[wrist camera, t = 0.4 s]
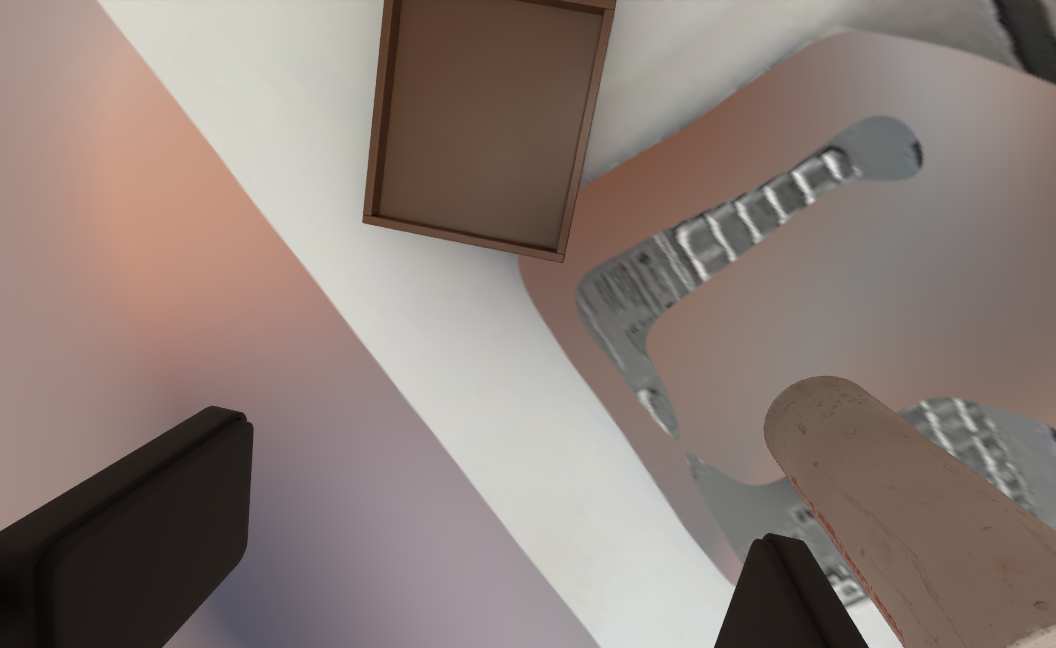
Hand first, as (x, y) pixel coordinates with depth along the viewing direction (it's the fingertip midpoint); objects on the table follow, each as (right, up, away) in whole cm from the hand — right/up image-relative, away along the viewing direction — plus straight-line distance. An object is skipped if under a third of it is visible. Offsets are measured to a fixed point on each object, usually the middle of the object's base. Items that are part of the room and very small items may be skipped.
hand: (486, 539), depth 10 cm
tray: (-2, +18, +27) cm, 32 cm away
